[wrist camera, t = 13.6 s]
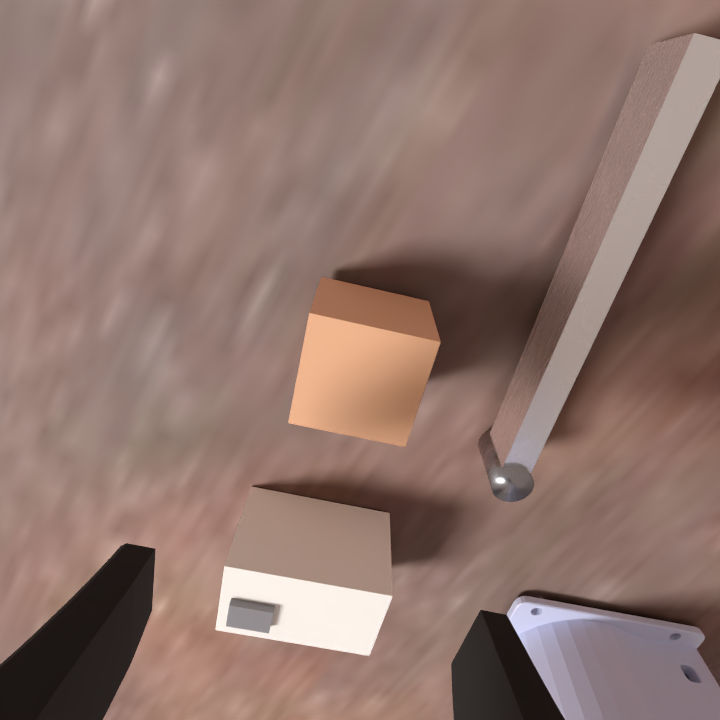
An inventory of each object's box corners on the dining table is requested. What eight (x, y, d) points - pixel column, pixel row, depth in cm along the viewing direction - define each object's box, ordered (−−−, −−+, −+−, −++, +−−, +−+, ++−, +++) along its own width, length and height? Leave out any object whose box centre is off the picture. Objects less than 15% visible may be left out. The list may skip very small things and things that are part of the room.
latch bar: (508, 460, 19) (525, 504, 17) (473, 453, 19) (486, 497, 17) (687, 56, 13) (750, 44, 10) (637, 44, 12) (691, 28, 10)
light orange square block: (428, 301, 16) (440, 342, 13) (400, 392, 17) (405, 447, 15) (321, 276, 15) (309, 312, 13) (302, 371, 17) (288, 422, 14)
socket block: (389, 513, 21) (392, 603, 17) (370, 569, 22) (369, 663, 18) (251, 486, 20) (222, 573, 16) (241, 545, 22) (213, 637, 18)
